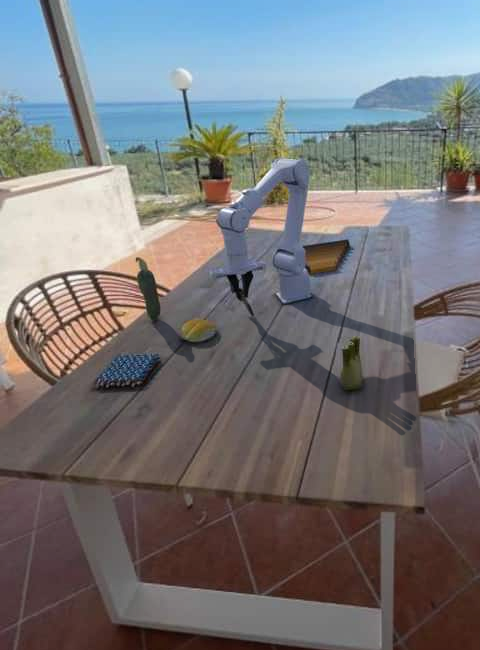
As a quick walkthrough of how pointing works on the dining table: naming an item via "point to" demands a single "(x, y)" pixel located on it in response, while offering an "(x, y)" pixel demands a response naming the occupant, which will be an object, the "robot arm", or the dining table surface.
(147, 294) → the vegetable
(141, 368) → the woven mat
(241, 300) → the knife
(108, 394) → the dining table surface
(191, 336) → the bread roll
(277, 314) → the dining table surface
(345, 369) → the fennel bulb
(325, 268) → the pan flute
